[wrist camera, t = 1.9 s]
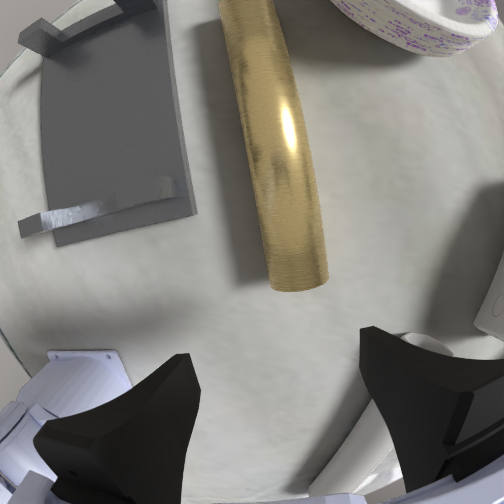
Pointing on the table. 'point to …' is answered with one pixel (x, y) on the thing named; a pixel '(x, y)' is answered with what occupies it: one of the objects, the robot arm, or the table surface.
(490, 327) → the white rounded block
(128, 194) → the corner post stand
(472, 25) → the paper bowls
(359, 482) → the tube
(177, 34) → the table surface
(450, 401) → the robot arm
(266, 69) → the brass pin
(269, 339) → the table surface
